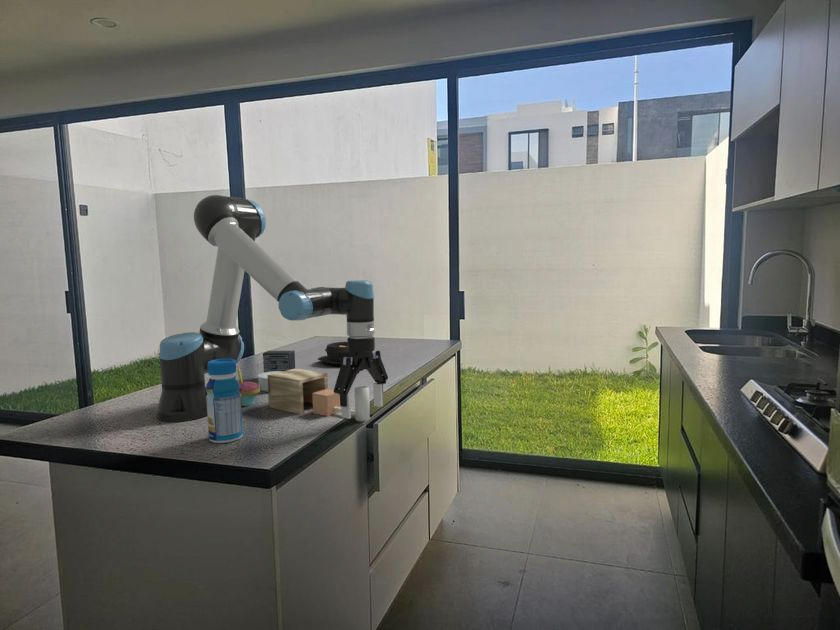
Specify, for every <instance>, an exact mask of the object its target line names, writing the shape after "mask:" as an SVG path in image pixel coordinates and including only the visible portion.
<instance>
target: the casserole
mask: <svg viewBox="0 0 840 630" xmlns="http://www.w3.org/2000/svg"><path fill="white" fill-rule="evenodd" d="M324 351H325V352H326V355H324V356H320V357H318V358H317V361H319V362H320V361H321V362H325V363H327V364H331V365H333V366H338V365H341V358H342V357H350V352H349V351H348V348H347V341H338V342H337V341H336V342H331V343H328V344H327V345H326V348H325V349H324Z"/></svg>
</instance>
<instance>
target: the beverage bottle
mask: <svg viewBox="0 0 840 630" xmlns="http://www.w3.org/2000/svg"><path fill="white" fill-rule="evenodd" d="M207 366H208V373H207V374H208V376H209V377H210V378H209V379H208V381H207V383H206V384H205V387H206V392H207V396H206V403H207V414H208V415H207V427H208V429H207V430H208V441H210V442H212V443H214V444H225V443H226V444H227V443H231V442H236V441H238V440H240V439H241V438H242V437H243V431H244V430H243V420H242V417H243V416H242V406H241V393H240V392H239V389H240V380H239V379H238V377H236V376H235V374H236V373H237V363H236V361H235V360H234V359H216V360H212V361H209V362H208V364H207Z"/></svg>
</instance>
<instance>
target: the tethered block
mask: <svg viewBox="0 0 840 630" xmlns="http://www.w3.org/2000/svg"><path fill="white" fill-rule="evenodd" d="M312 396H313V403H312V413H313V414H315V415H319V414H320V415H319V416H324V415H325V417H330V416H333V415H336V414H339V413H342V412H341V406H340V395H339V394H337V393H334V389H330V388H328V389H325V390H321V391H318V392H315V393H312ZM338 412H339V413H338ZM335 413H336V414H335ZM332 414H333V415H332ZM352 415H353V416H354V417H355V421H356V422H368V421H370V420H371V412H370V387H369V386H365V385H363V386H361V385H360V386H356V387H354V409H351V416H352Z"/></svg>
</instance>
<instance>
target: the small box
mask: <svg viewBox="0 0 840 630" xmlns="http://www.w3.org/2000/svg"><path fill="white" fill-rule="evenodd" d="M295 352H296V351H295V350H267V351H265V352H262V361H263V373H265V372H272V371H287V370H291V369H295V368H296V355H295Z"/></svg>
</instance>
